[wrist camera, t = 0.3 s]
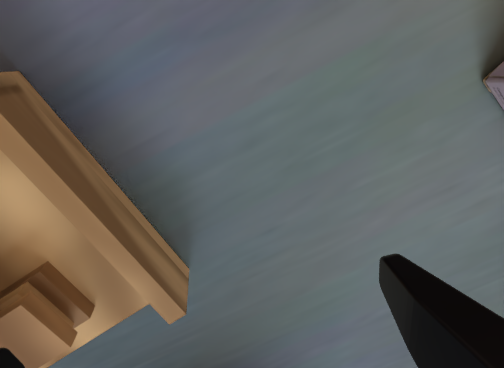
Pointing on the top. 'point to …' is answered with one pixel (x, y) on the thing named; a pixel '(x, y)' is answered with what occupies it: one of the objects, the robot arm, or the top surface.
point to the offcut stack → (41, 315)
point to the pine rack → (76, 220)
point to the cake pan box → (496, 83)
